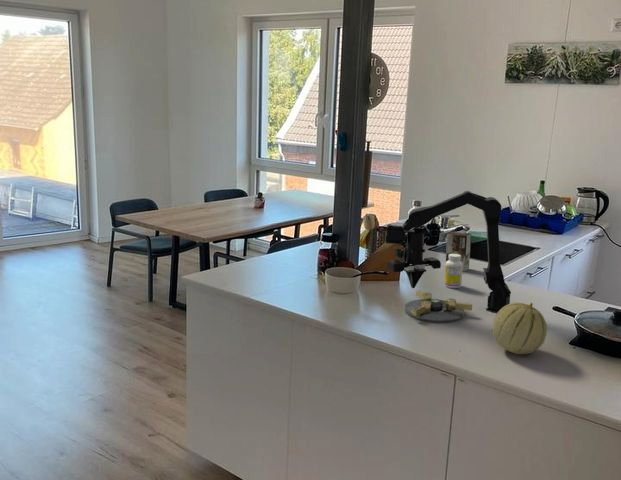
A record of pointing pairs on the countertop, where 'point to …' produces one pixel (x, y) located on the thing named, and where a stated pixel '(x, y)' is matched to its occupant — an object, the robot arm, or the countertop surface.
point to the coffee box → (459, 247)
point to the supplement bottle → (453, 271)
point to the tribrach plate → (434, 312)
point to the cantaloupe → (519, 328)
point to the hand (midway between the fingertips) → (412, 287)
